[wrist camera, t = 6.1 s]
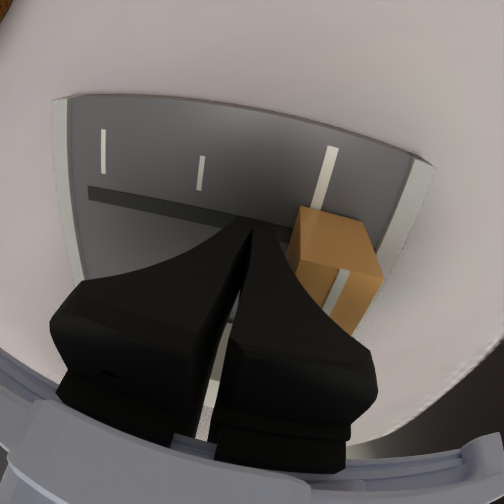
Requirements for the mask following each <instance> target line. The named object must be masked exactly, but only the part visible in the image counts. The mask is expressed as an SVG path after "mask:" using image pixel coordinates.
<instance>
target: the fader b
mask: <svg viewBox="0 0 504 504" xmlns="http://www.w3.org/2000/svg"><path fill="white" fill-rule="evenodd" d="M285 257H286V259H287V261H288V263H289V265H290V266H291V268H292V270H293V272H294V274H295V275H296V277H297V278H298V280H299V281H300V283H301V284H302V286H303V287H304V289H305V290H306V291H307V292H308V294H309V295H310V296H311V297H312V298H313V300H314V301H315V302H316V303H317V304H318V305H319V307H320V308H321V309H322V310H323V311H324V312H325V313H326V314H327V315H328V316H329V317H330V318H331V319H332V320H333V321H334V322H335V323H337V324H338V325H339V326H340V327H341V328H342V329H343V330H344V331H345V332H347V333H348V334H349V335H350V336H351V335H352V334H353V332H354V330H355V329H356V327H357V326H358V324H359V322H360V321H361V319H362V317H363V316H364V314H365V312H366V311H367V309H368V307H369V305H370V304H371V302H372V300H373V298H374V297H375V295H376V293H377V291H378V289H379V288H380V286H381V284H382V282H383V280H384V277H383V274H382V271H381V268H380V265H379V263H378V260H377V257H376V255H375V252H374V249H373V247H372V244H371V241H370V239H369V236H368V234H367V231H366V229H365V226H364V224H363V222H361V221H357V220H354V219H350V218H346V217H343V216H339V215H335V214H331V213H328V212H324V211H320V210H316V209H312V208H308V207H304V206H300V208H299V211H298V215H297V218H296V222H295V225H294V229H293V232H292V236H291V239H290V243H289V246H288V249H287V253H286V256H285Z"/></svg>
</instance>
